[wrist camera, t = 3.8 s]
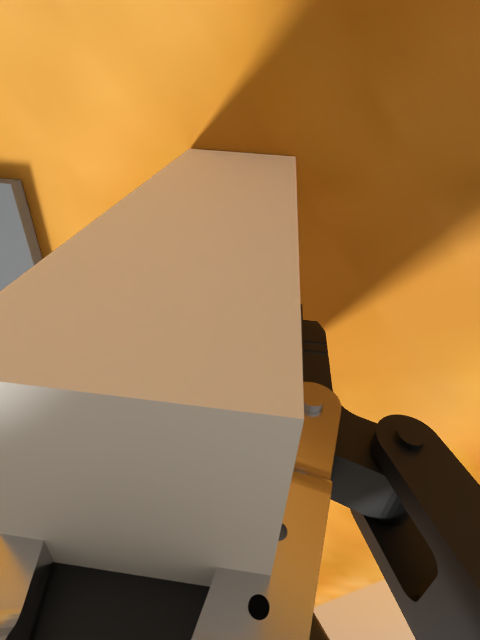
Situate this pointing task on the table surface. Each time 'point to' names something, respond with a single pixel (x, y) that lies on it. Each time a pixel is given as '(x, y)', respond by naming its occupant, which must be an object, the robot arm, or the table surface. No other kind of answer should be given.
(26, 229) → the slate mat
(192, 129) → the table surface
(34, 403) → the cream block
